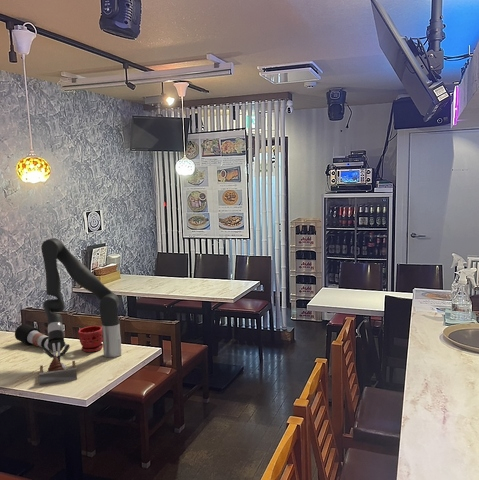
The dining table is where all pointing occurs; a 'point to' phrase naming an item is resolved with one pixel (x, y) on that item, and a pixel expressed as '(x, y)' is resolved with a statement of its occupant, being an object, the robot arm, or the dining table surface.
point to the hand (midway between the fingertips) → (57, 364)
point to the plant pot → (91, 338)
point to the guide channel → (57, 375)
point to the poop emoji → (56, 365)
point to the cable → (31, 336)
